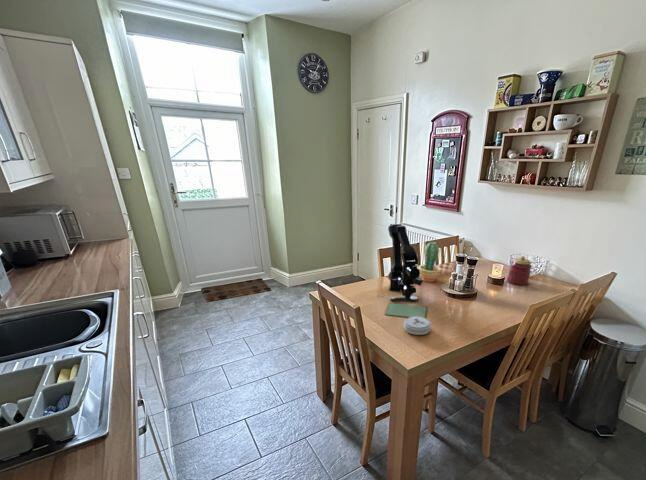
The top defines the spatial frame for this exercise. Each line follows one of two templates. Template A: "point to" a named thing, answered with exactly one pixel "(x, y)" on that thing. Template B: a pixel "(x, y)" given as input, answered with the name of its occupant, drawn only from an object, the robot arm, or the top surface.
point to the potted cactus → (430, 263)
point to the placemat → (406, 310)
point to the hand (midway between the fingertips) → (405, 298)
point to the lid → (417, 325)
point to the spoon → (412, 298)
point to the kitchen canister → (519, 271)
